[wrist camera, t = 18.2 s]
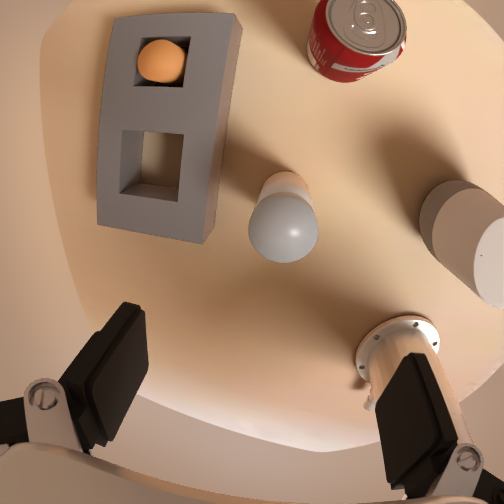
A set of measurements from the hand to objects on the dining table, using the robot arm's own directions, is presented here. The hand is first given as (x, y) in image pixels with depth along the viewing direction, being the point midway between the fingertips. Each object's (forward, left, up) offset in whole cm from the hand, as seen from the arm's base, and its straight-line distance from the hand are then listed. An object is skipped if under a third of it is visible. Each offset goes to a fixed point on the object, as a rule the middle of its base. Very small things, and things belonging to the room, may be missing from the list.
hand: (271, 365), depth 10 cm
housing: (+5, +13, -24) cm, 28 cm away
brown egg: (+12, +13, -23) cm, 29 cm away
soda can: (+16, -3, -24) cm, 29 cm away
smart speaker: (+2, -19, -24) cm, 31 cm away
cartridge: (0, 0, -24) cm, 24 cm away
